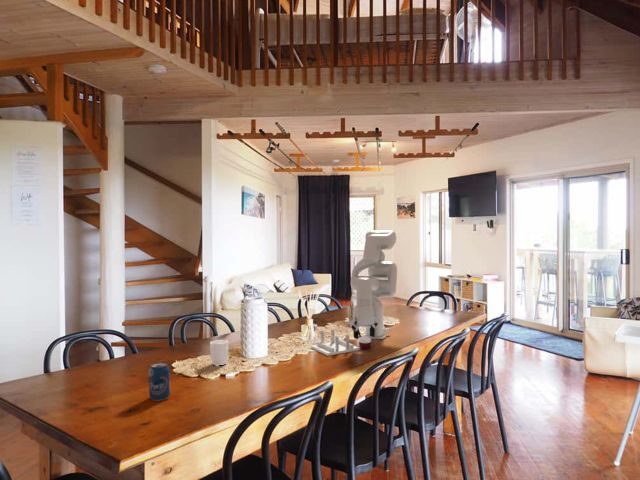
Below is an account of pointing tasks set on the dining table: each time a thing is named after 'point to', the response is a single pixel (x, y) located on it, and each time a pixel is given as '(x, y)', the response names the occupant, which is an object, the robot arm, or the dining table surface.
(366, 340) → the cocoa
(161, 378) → the soda can
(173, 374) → the dining table surface
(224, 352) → the white cup
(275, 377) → the dining table surface
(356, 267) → the robot arm
